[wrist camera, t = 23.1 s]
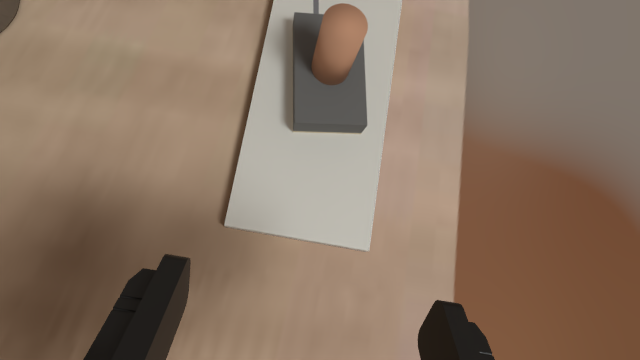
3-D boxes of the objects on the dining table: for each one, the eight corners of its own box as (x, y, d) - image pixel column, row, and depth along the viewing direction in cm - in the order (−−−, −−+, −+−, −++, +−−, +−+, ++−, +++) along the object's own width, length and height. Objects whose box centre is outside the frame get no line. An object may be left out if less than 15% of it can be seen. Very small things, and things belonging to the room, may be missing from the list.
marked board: (364, 251, 34) (369, 251, 33) (225, 227, 33) (224, 225, 32) (398, -4, 40) (404, -15, 39) (282, -33, 39) (283, -45, 38)
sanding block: (360, 134, 35) (391, 93, 27) (292, 132, 34) (302, 89, 26) (356, 32, 37) (383, -35, 29) (292, 27, 36) (301, -43, 28)
